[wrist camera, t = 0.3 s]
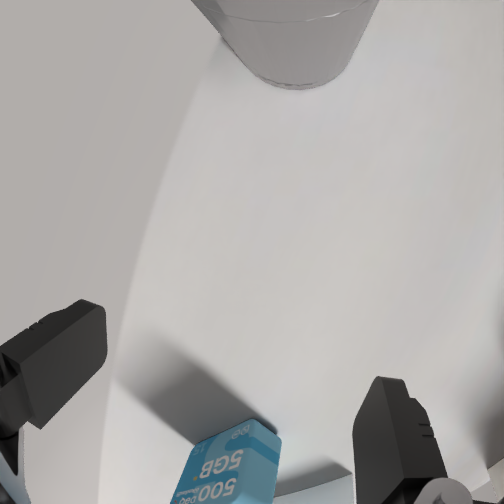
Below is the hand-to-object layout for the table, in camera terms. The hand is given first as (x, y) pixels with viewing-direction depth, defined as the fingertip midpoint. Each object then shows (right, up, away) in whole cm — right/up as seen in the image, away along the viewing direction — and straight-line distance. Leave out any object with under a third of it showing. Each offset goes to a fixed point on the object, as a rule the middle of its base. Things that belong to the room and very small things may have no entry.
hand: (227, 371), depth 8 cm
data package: (-1, -20, +27) cm, 34 cm away
